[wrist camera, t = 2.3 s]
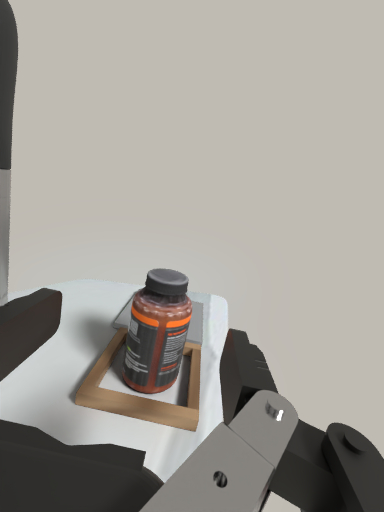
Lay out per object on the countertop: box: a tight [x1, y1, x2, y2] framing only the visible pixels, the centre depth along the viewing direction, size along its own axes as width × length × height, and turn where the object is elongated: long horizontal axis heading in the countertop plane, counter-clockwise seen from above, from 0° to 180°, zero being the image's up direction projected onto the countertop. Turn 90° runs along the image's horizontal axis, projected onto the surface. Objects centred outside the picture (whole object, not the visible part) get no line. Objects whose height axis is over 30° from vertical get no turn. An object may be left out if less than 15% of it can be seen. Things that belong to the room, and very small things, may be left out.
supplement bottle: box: [122, 269, 192, 394], centre depth 24 cm, size 6×6×11 cm
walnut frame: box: [75, 327, 201, 432], centre depth 25 cm, size 10×10×1 cm
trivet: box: [113, 289, 203, 346], centre depth 37 cm, size 12×12×1 cm
